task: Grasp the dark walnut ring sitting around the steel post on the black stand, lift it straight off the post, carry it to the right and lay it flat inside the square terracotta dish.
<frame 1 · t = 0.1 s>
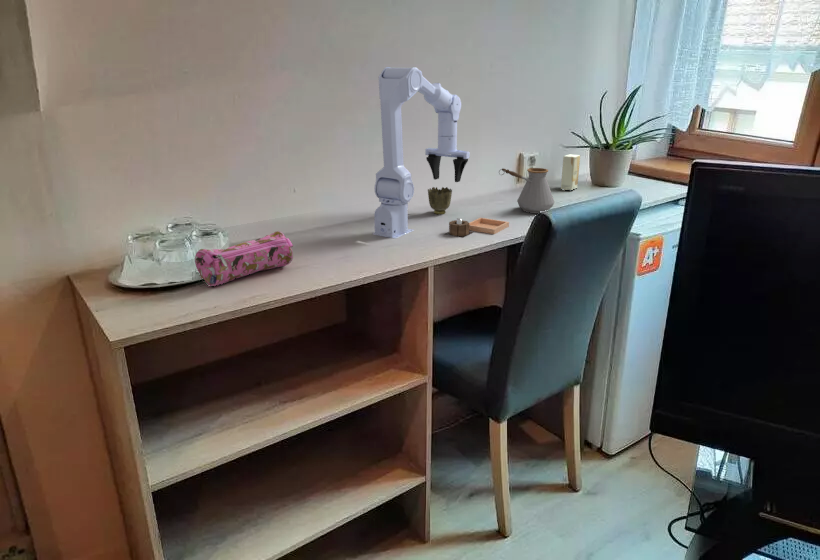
hand: (446, 180, 191), 10 cm above the table, tool pointing down, fingers open, 7 cm apart
ring: (458, 233, 171), resting on stand
dish: (486, 229, 176), on the table
coffee pot: (523, 213, 194), on the table
cup: (439, 215, 192), on the table
skincare box: (569, 190, 224), on the table
stand: (458, 234, 171), on the table
pencil case: (247, 276, 143), on the table
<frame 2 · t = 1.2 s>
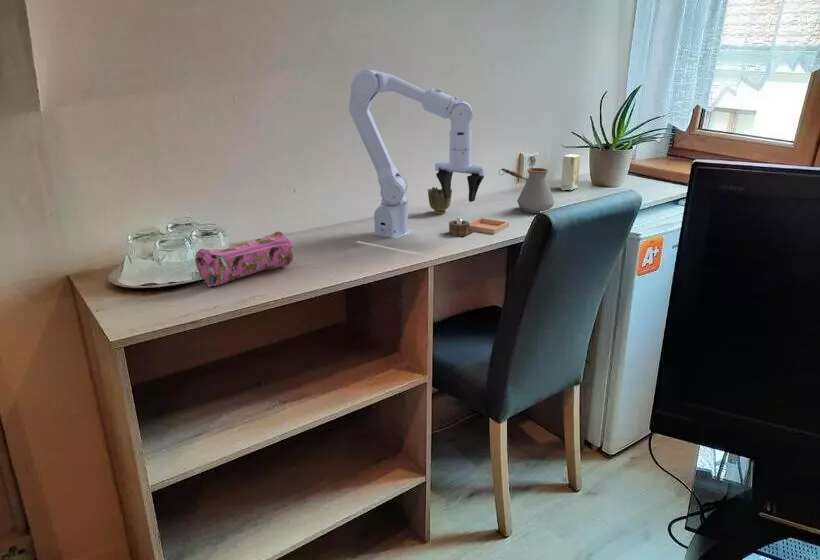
hand: (459, 199, 168), 10 cm above the table, tool pointing down, fingers open, 7 cm apart
nothing on the table moved.
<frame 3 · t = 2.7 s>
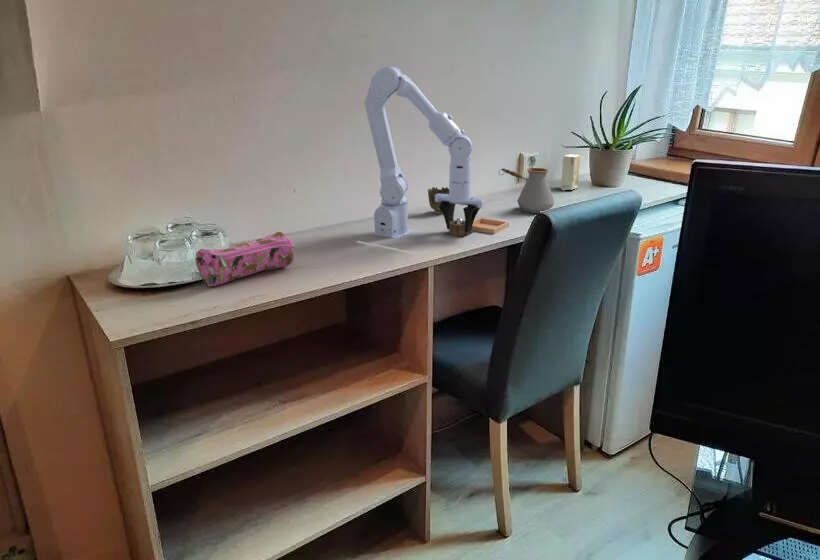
hand: (459, 230, 171), 1 cm above the table, tool pointing down, fingers closed on ring, 5 cm apart
ring: (458, 233, 171), point 1 cm above the table, touching gripper, stand
everything else where it was.
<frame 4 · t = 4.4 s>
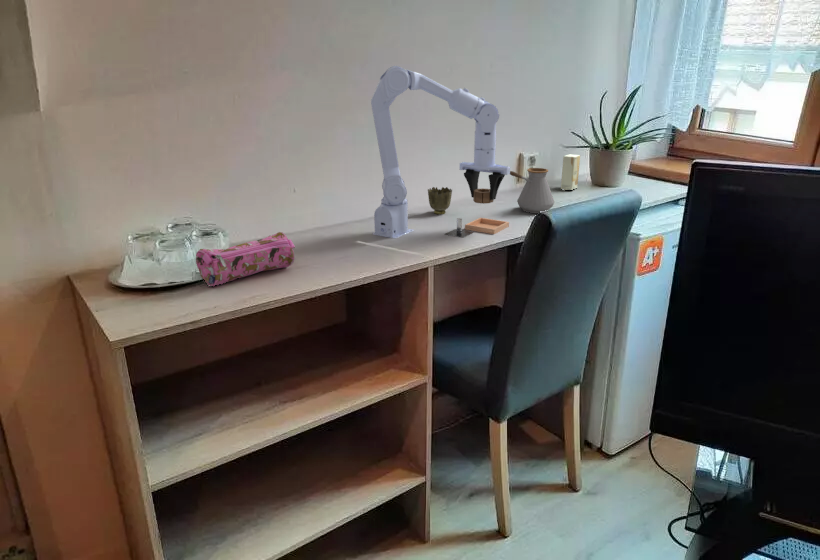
hand: (483, 198, 172), 9 cm above the table, tool pointing down, fingers closed on ring, 5 cm apart
ring: (483, 201, 172), point 8 cm above the table, touching gripper
everything else where it was.
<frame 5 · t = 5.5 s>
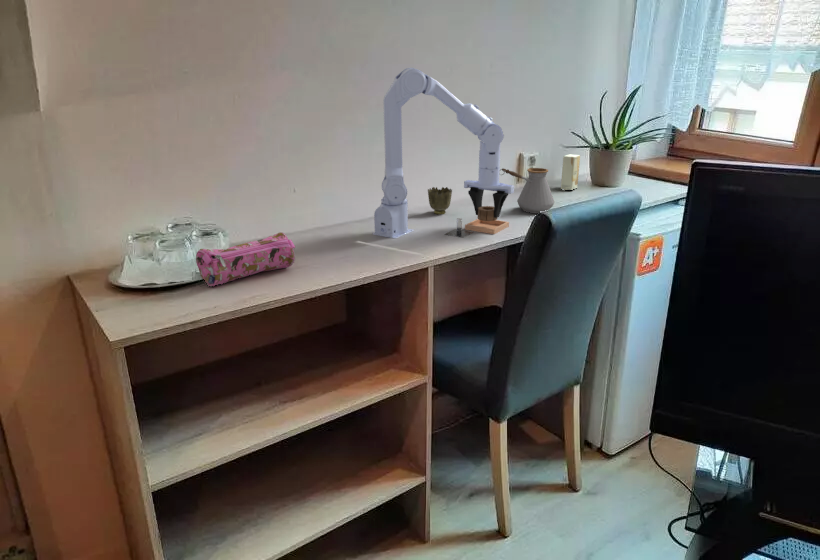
hand: (487, 215, 175), 4 cm above the table, tool pointing down, fingers closed on ring, 5 cm apart
ring: (487, 218, 175), point 3 cm above the table, touching gripper
everything else where it was.
when the fingers open (3 cm above the table, at t = 6.3 s): ring drops 1 cm, resting on dish.
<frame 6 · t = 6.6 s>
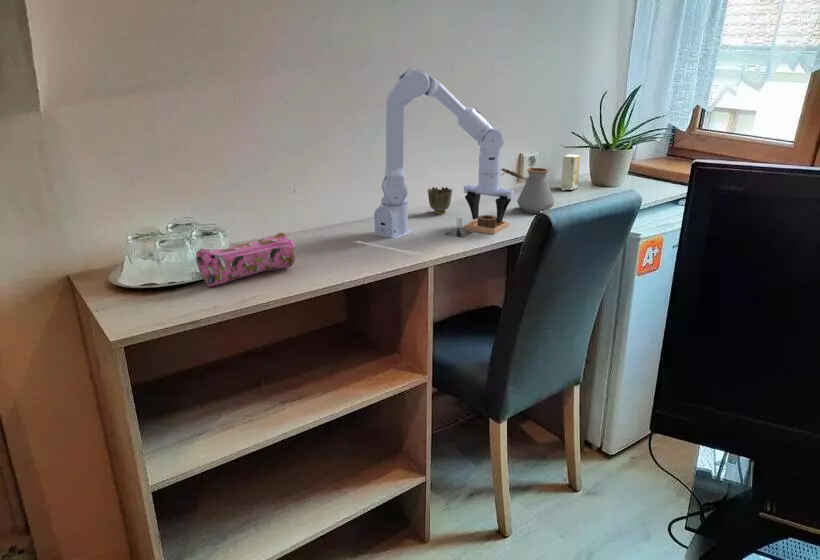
hand: (487, 220, 175), 3 cm above the table, tool pointing down, fingers open, 7 cm apart
ring: (487, 227, 176), resting on dish
everything else where it was.
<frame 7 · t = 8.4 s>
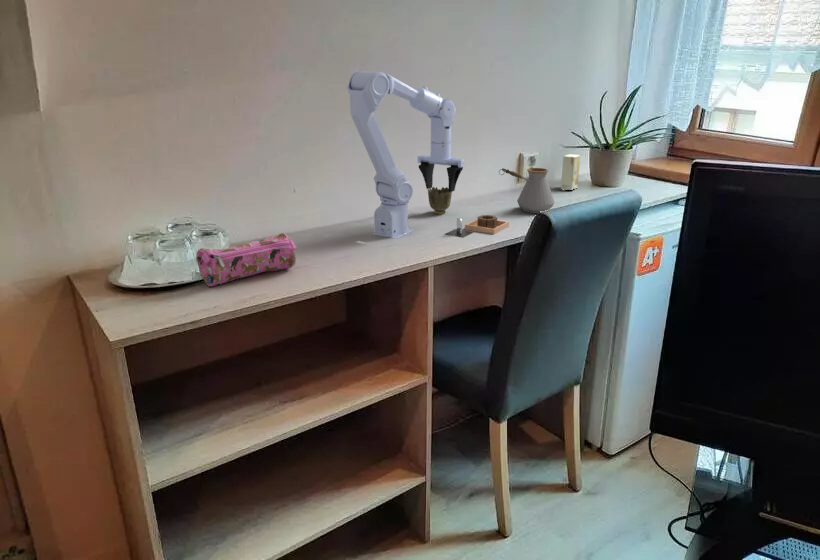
hand: (440, 189, 180), 10 cm above the table, tool pointing down, fingers open, 7 cm apart
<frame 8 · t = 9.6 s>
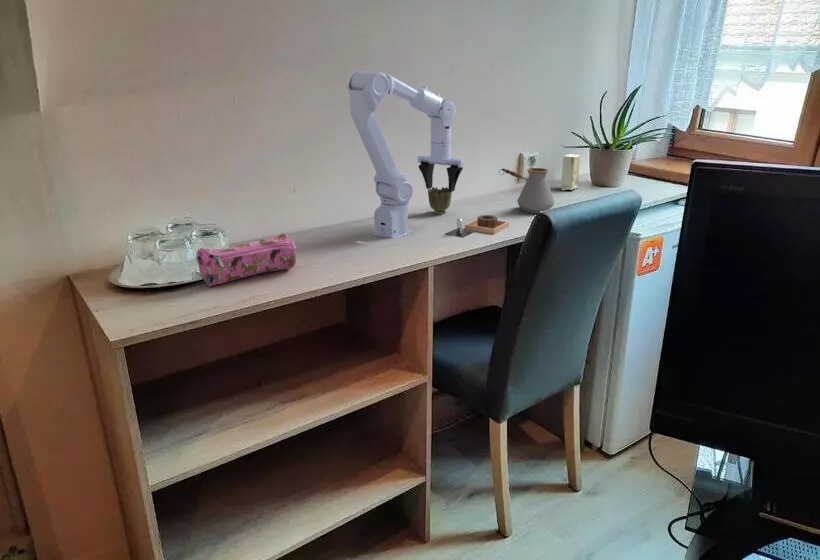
hand: (440, 189, 180), 10 cm above the table, tool pointing down, fingers open, 7 cm apart
at the end: ring 0.0 cm off-centre on the dish, point 0.5 cm above the dish's base; ring tilted 0°; the gripper is holding nothing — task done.
